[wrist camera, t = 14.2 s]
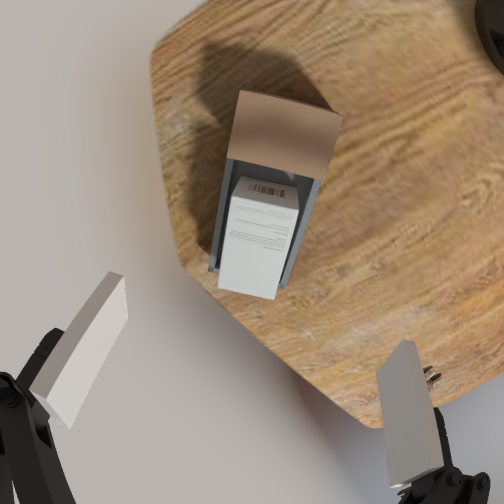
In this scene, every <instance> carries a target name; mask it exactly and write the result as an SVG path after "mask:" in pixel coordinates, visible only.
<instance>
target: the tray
mask: <svg viewBox="0 0 504 504" xmlns="http://www.w3.org/2000/svg"><path fill="white" fill-rule="evenodd" d="M242 175H243V176H246V177H249V178H253V179H258V180H262V181H267V182H272V183H276V184H281V185H286V186H292V187H296V188H297V191H298V204H299V212H298V216H297V220H296V224H295V228H294V231H293V235H292V239H291V242H290V246H289V250H288V253H287V256H286V260H285V263H284V267H283V270H282V273H281V277H280V280H279V283H278V287H277V288H281V289H285V286H286V284H287V281H288V278H289V275H290V272H291V270H292V267H293V264H294V261H295V258H296V255H297V253H298V250H299V247H300V244H301V241H302V238H303V235H304V232H305V229H306V226H307V223H308V220H309V217H310V214H311V211H312V208H313V205H314V202H315V199H316V196H317V193H318V190H319V186H320V183H321V181H320V180H317V179H313V178H310V177H306V176H302V175H298V174H295V173H291V172H287V171H283V170H279V169H275V168H271V167H267V166H262V165H258V164H254V163H249V162H245V161H240V160H236V159H231V158H227V160H226V166H225V171H224V177H223V182H222V188H221V193H220V199H219V205H218V211H217V217H216V223H215V229H214V235H213V241H212V248H211V254H210V261H209V267H208V271H209V272H213V273H217V274H219V269H220V263H221V256H222V250H223V243H224V237H225V231H226V225H227V218H228V212H229V206H230V200H231V196H232V193H233V191H234V189H235V187H236V185H237V183H238V181H239V179H240V177H241V176H242Z"/></svg>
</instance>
